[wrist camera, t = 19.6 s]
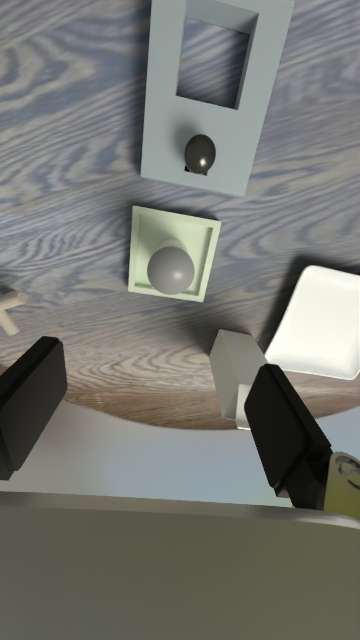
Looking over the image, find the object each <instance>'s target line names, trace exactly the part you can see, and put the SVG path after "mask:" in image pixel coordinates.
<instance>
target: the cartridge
mask: <svg viewBox="0 0 360 640" xmlns="http://www.w3.org/2000/svg"><path fill="white" fill-rule="evenodd" d="M194 275H195V268H194V264H193V261H192V259H191V257H190V256H189V254H188V251H187V249H186V247H185V245H184V244H183V243H182V242H180V241H178V240H176V239H167V240H165V241H163V242H161V243H160V244H159V246H158V247H157V249H156V251H155V253H154V254H153V255H152V257H151V258H150V260H149V263H148V266H147V276H148V279H149V282H150V283H151V285H152V286H153V287H154V288H155V289H156V290H157V291H159V292H161V293H163V294H167V295H176V294H179V293H182V292H184V291H185V290H186V289H187V288H188V287H189V286H190V285H191V284H192V282H193V279H194Z"/></svg>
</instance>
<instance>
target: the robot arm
mask: <svg viewBox="0 0 360 640" xmlns="http://www.w3.org/2000/svg"><path fill="white" fill-rule="evenodd" d="M66 390H67V377H66V368H65V359H64V350H63V343H62V342H61V341H59V339H58V338H56V337H48V336H43V337H41V338H40V339H39V340H38V341H37V342H36V343H35V344H34V345H33V346H32V347H31V348H30V349H28V350H27V351H26V352H25V353H24V354H23V355H22V356H21V357H20V358H19V359H18V360H17V361H16V362H15V363H14V364H13V365H12V366H10V367H9V368H8V369H7V370H6V371H5V372H4V373H3V374H2V375H1V376H0V480H9V479H10V477H11V475H12V474H13V472H14V471H18V470H19V469H20V468H21V466H22V465H23V463H24V462H25V460H26V458H27V457H28V455H29V453H30V451H31V450H32V448H33V447H34V445H35V443H36V441H37V440H38V438H39V437H40V435H41V433H42V432H43V430H44V428H45V427H46V425H47V423H48V422H49V420H50V418H51V416H52V415H53V413H54V411H55V410H56V408H57V406H58V405H59V403H60V401H61V400H62V398H63V396H64V395H65V393H66ZM244 412H245V415H246V418H247V421H248V424H249V427H250V430H251V432H252V435H253V438H254V441H255V444H256V447H257V450H258V453H259V456H260V459H261V462H262V465H263V468H264V471H265V474H266V477H267V480H268V482H269V485H270V486H271V487H272V488H274V491H275V494H276V497H284V498H290V499H291V502H292V504H293V506H292V508H289V507H277V506H264V505H248V504H232V503H216V502H200V501H182V500H166V499H148V498H131V497H112V496H94V495H93V496H92V495H75V494H54V493H34V492H31V493H30V492H3V491H0V640H360V461H359V460H358V459H356V458H355V457H353V456H351V455H349V454H347V453H344V452H335V453H333V451H332V450H331V448H330V447H331V444H330V442H329V441H328V439H327V438H326V436H325V435H324V433H323V432H322V430H321V429H320V427H319V426H318V424H317V423H316V421H315V419H314V418H313V416H312V415H311V413H310V412H309V410H308V409H307V407H306V406H305V404H304V403H303V401H302V400H301V398H300V397H299V395H298V394H297V392H296V391H295V389H294V388H293V386H292V385H291V383H290V382H289V380H288V379H287V377H286V376H285V374H284V372H283V371H282V369H281V368H280V366H279V365H276V364H268V363H265V364H264V365H263V366H261V367H260V368H259V371H258V373H257V375H256V378H255V380H254V382H253V384H252V387H251V389H250V391H249V394H248V396H247V398H246V401H245V403H244Z"/></svg>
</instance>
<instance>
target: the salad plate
mask: <svg viewBox="0 0 360 640" xmlns="http://www.w3.org/2000/svg"><path fill="white" fill-rule="evenodd" d="M264 356H265V357H266V359H267V361H268V362H269V364H276V365H279V366H280V368H281V369H282V370H287V371H294V372H301V373H308V374H315V375H321V376H328V377H334V378H340V379H347V380H352V379H354V378H355V377H356V376H357V375H358V373H359V372H360V275H356V274H351V273H346V272H342V271H338V270H334V269H330V268H326V267H321V266H315V265H310V266H307V267H306V268H304V269H303V271H302V272H301V274H300V277H299V279H298V281H297V284H296V286H295V289H294V291H293V294H292V296H291V299H290V301H289V304H288V306H287V308H286V311H285V313H284V315H283V318H282V320H281V322H280V324H279V327H278V329H277V331H276V333H275V335H274V337H273V339H272V341H271V343H270V345H269V347H268V349H267V350H266V352H265V354H264Z"/></svg>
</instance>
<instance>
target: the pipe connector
mask: <svg viewBox="0 0 360 640" xmlns="http://www.w3.org/2000/svg"><path fill="white" fill-rule="evenodd" d="M27 301H28V298H27V296H26V295H25V294H24V293H22V292H18V291H16V290H12V291H10V292H8V293H6V294H4V295H2V296H0V325H1V326H2V327H3V329H4V330H5V331H6V333H7V334H8V335H9V336H10V335H13V334H15V333H17V332H19V331H20V329H19V327H18V326H17V325H16V323H15V322H14V321H13V319H12V318H11V317H10V315H9V314H8V313H7V311H6V310H5V309H8V308H11V307H15V306H18V305H21V304H25V303H27Z"/></svg>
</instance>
